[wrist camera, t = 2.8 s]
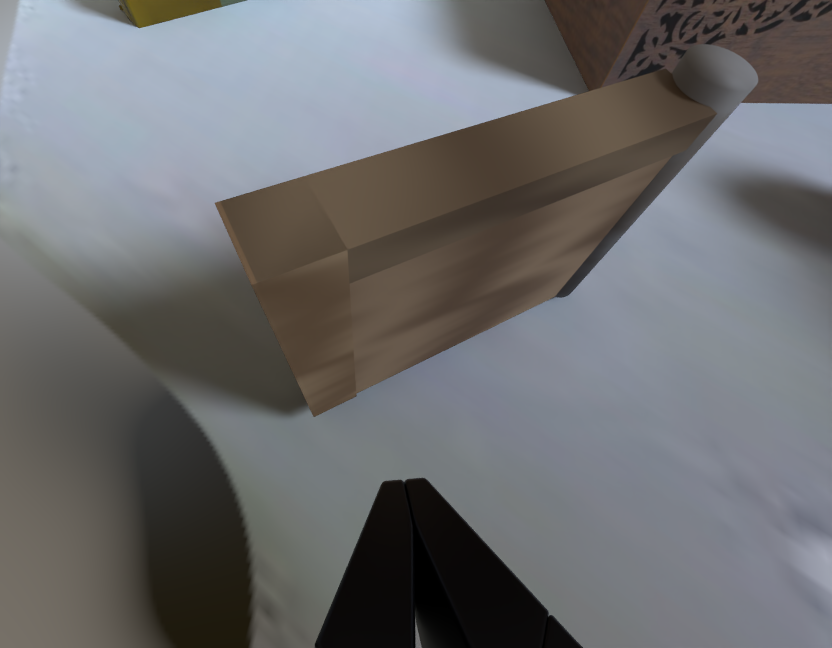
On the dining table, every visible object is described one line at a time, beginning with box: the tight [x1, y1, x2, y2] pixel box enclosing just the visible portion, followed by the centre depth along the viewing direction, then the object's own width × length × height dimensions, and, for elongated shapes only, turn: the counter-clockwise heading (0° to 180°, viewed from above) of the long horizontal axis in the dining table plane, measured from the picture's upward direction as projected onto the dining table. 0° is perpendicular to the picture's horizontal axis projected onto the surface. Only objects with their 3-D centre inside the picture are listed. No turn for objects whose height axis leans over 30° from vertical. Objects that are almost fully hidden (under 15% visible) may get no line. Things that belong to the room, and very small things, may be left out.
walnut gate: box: [215, 44, 758, 417], centre depth 14 cm, size 14×2×11 cm, turn 119°
